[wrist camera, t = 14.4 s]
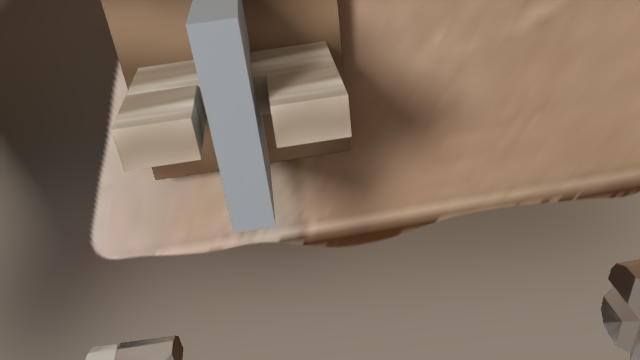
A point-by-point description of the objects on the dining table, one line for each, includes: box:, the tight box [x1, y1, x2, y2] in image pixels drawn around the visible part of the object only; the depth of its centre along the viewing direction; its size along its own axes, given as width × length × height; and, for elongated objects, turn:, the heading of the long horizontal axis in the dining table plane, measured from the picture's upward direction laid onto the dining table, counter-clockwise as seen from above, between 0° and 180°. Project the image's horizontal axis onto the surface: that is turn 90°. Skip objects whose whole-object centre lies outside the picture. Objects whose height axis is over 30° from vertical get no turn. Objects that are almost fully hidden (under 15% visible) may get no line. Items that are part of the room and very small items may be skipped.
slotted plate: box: [186, 0, 276, 233], centre depth 33 cm, size 12×2×9 cm, turn 6°
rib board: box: [101, 0, 352, 180], centre depth 34 cm, size 14×14×10 cm
